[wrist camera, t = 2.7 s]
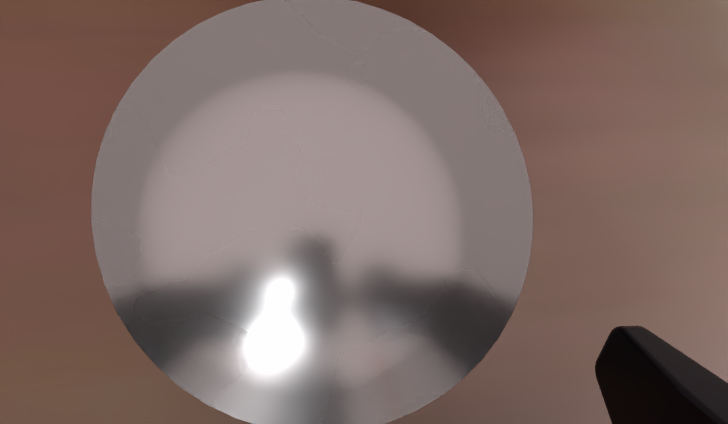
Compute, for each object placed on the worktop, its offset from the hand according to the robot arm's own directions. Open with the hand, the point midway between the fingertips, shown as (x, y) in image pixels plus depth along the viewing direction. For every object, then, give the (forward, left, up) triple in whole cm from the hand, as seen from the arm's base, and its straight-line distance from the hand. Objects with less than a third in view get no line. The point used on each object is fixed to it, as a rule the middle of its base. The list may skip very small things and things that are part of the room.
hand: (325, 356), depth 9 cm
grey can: (+1, -2, -11) cm, 12 cm away
